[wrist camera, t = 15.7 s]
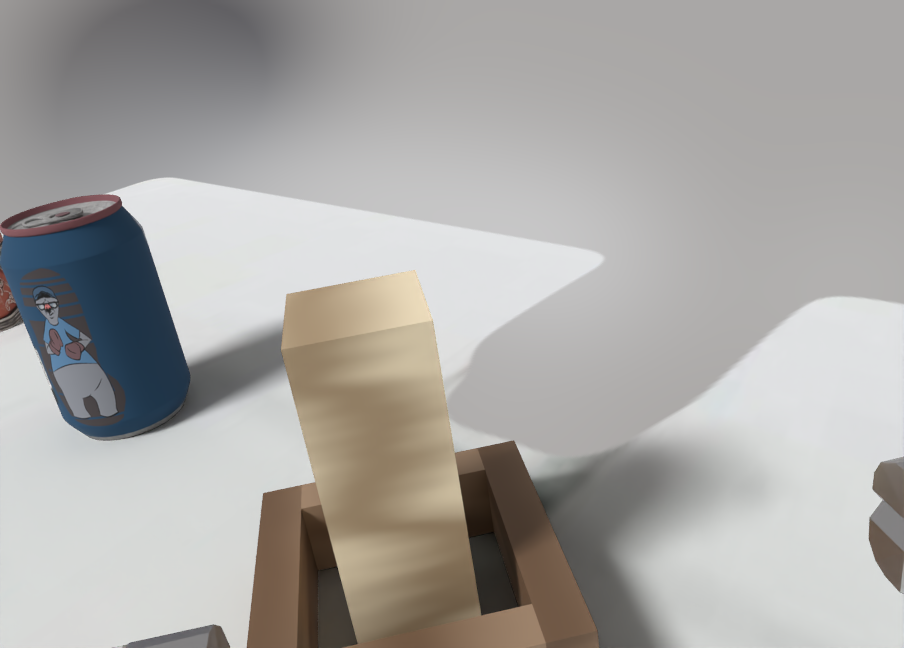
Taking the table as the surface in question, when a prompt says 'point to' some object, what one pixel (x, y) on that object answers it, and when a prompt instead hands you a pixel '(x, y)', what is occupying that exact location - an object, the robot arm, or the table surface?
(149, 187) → the table surface
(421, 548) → the peg
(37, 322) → the soda can
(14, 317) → the lighter
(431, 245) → the table surface
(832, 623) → the table surface
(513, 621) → the socket
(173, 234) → the table surface
